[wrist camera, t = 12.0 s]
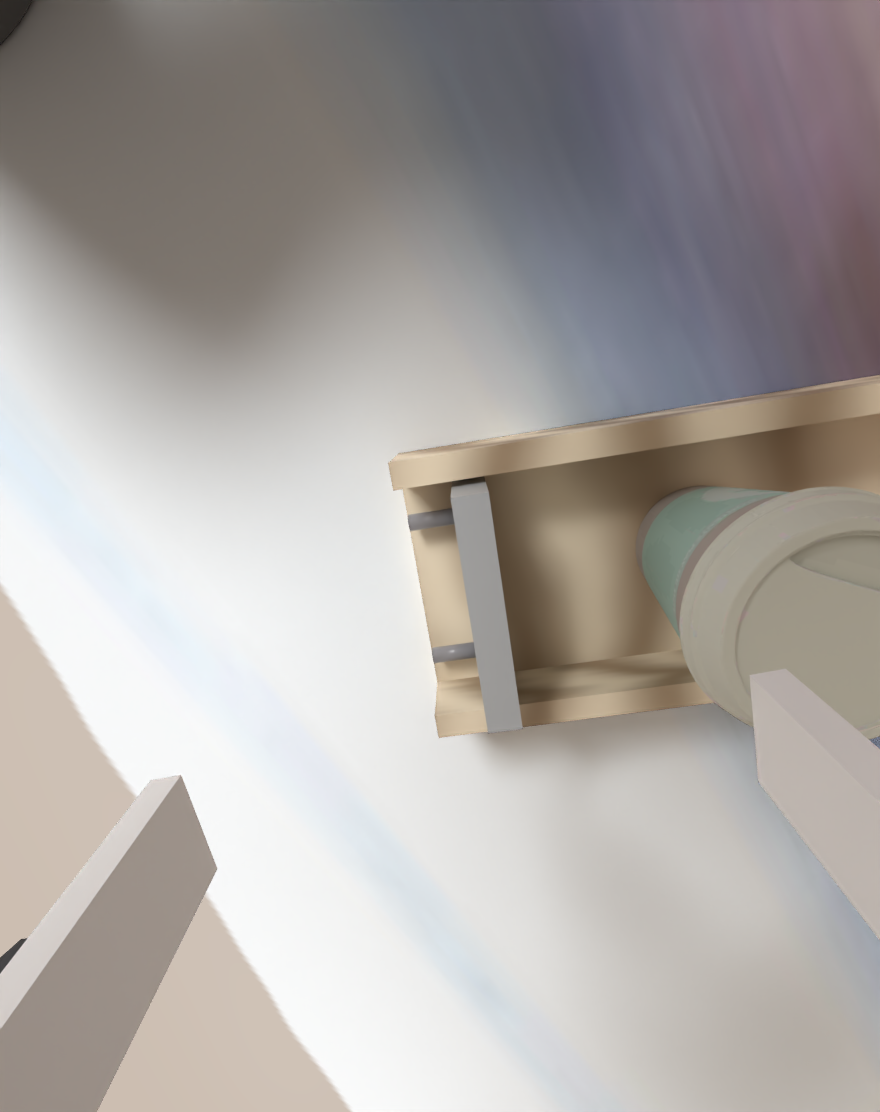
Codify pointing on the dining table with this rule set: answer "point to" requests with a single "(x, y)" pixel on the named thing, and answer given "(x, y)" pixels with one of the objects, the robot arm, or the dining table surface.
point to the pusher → (480, 600)
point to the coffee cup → (772, 591)
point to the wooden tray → (610, 538)
